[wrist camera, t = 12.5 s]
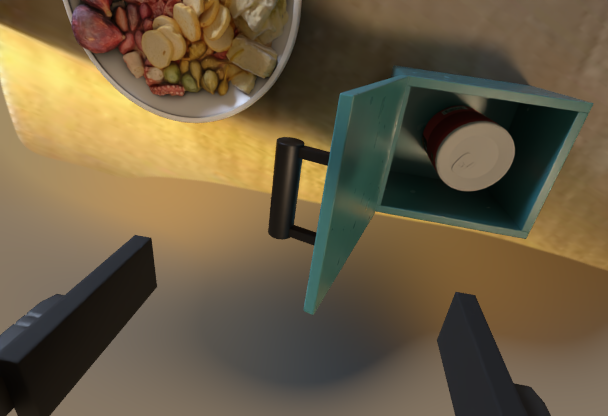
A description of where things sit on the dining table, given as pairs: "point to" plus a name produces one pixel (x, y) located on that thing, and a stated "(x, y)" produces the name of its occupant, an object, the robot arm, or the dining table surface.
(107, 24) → the bowl
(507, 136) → the canned food
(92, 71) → the dining table surface
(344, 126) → the chest lid
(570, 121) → the box
